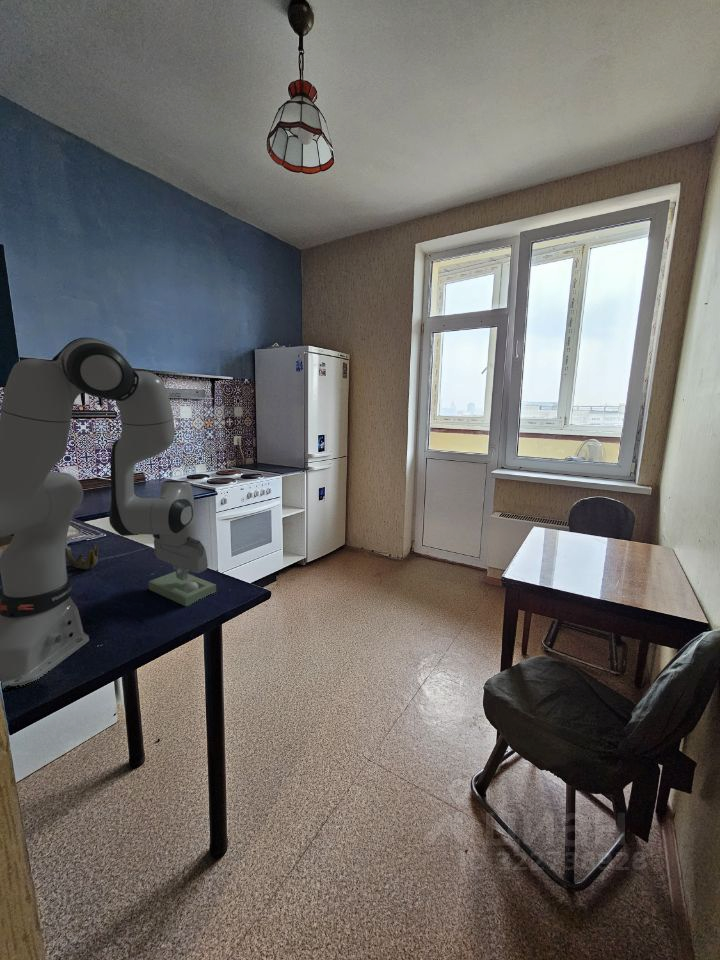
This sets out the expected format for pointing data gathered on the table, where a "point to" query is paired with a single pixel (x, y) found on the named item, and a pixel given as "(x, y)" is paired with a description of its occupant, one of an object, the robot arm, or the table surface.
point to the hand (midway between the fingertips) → (182, 578)
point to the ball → (190, 587)
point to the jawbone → (80, 561)
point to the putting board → (181, 588)
